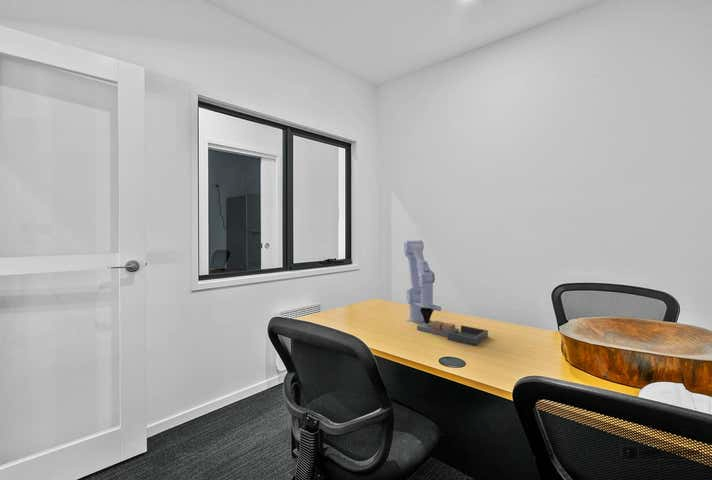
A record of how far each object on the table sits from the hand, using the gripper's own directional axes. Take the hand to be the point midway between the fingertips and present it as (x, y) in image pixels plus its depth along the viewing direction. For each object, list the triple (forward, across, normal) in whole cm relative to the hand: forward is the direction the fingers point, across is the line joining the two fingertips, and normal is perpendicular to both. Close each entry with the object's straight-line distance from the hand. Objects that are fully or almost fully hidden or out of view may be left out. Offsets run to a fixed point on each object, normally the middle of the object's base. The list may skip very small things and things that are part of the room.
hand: (426, 323), depth 163 cm
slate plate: (+3, +6, 0) cm, 6 cm away
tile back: (+1, +6, 0) cm, 6 cm away
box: (+3, +21, 0) cm, 21 cm away
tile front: (+1, +12, 0) cm, 12 cm away
